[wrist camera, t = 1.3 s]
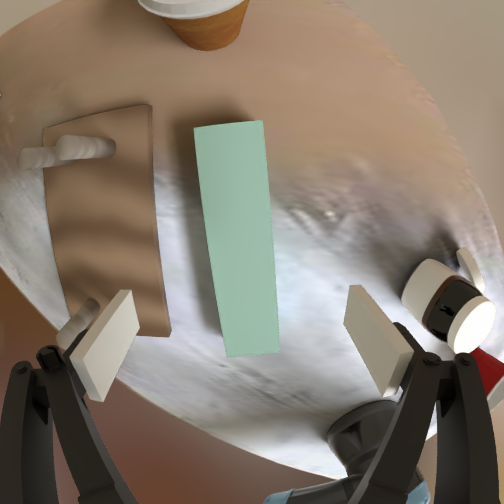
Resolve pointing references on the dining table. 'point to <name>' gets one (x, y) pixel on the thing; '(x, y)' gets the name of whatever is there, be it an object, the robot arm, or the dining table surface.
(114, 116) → the peg rack
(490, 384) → the plastic cup
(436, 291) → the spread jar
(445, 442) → the robot arm
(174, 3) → the disposable coffee cup
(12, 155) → the dining table surface
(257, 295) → the shelf board
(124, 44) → the dining table surface
